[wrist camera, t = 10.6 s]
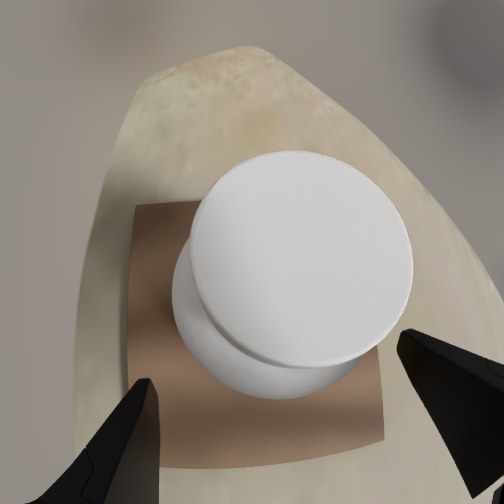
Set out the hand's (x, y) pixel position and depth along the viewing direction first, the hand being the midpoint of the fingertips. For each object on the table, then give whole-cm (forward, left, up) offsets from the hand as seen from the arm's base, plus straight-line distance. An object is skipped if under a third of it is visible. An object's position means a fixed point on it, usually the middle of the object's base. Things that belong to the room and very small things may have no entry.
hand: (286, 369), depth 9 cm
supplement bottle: (+3, 0, -8) cm, 9 cm away
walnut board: (+3, 0, -9) cm, 9 cm away
